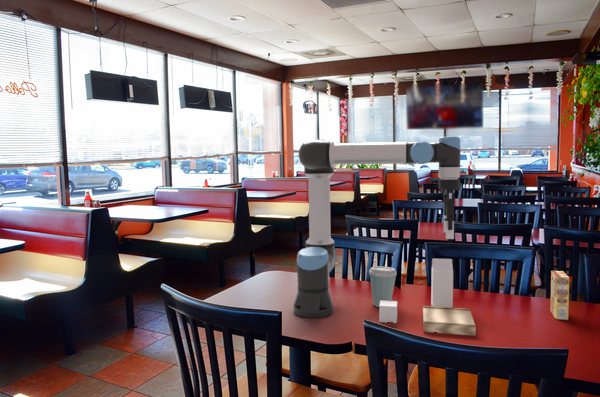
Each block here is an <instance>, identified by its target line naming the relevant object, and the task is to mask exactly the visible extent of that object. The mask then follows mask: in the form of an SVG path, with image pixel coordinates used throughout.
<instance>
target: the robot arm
mask: <svg viewBox="0 0 600 397" xmlns="http://www.w3.org/2000/svg"><path fill="white" fill-rule="evenodd" d="M298 150H299V151H298V160H299V162H300V164H301V165H302V166H303V167H304V168H303V169H304V175H305V176H306V177H307V179H308V180H307V181H308V182H307V183H308V228H309V230H308V231H309V232H308V235H309V237H308V238H307V240H305V248H301V249H300V250H298V252H297V255H296V256H297V257H296V265H297V268H296V269H297V272H296V273H297V292H296V296H295V299H294V303H293V313H294V314H295V315H297V316H298V317H302V318H308V319H310V318H311V319H312V318H313V319H317V318H318V319H319V318H324V317H328V316H330V315H332V314H333V313H334V303H333V300H332V297H331V294H330V289H329V284H330V283H329V274H330V273H331V271H332V270H333V269H334V268H335V266H336V263H337V259H338V258H337V257H338V256H337V252H336V248H335V240H334V239H333V238H332V237H331V235H332V234H331V177H332V176H333V175H334V173H335V172H334V170H335V168H334V167H335V166H336V165H338V166H339V165H394V164H395V165H401V164H402V165H403V164H405V165H406V164H407V165H408V164H410V165H412V164H413V165H414V164H415V165H426V164H428V163H429V164H430V163H431V164H432V163H434V164H436V163H437V164H438V176H437V177H438V178H439V180H438V189H439V190H440V191H441V190H443V192H444V193H442V194H443V195H442V198H443V233H445V239H446V240H454V239H455V220H456V218H455V199H456V194H455V192H454V190H456V191H457V190H460V188H461V179H459V178H460V177H461V173H462V171H463V170H462V169H461V150H462V149H461V139H460V137H459V136H451V135H450V136H440V137H439V138H438V141H437V142H428V141H424V140H423V141H422V140H421V141H420V140H419V141H408V142H407V141H395V142H356V143H355V142H350V143H349V142H347V143H346V142H345V143H335V142H334V141H333V140H324V139H319V138H313V139H311V138H310V139H307V140H306V141H304V142H303V143H302V144H301V145H300V147H299V149H298Z"/></svg>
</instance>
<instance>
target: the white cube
mask: <svg viewBox="0 0 600 397" xmlns="http://www.w3.org/2000/svg"><path fill="white" fill-rule="evenodd" d="M378 308H379V310H378V311H379V315H378V316H379V318H378V319H379V320H378V321H379V323H387V322H393V323H392V324H397V323H398V300H391V301H385V300H380V305H379V307H378Z"/></svg>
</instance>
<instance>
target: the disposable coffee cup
mask: <svg viewBox="0 0 600 397" xmlns="http://www.w3.org/2000/svg"><path fill="white" fill-rule="evenodd" d="M368 274H369V280H370V288H371V289H370V290H371V298H372V303H373V305H374V306H375V307H377V308H379V305H380V300H385V301H393V294H394V288H395V282H396V277H397V275H398V274H397V270H396V268H393V267H391V266H390V267H389V266H372V267H370V269H369V270H368Z"/></svg>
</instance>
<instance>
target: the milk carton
mask: <svg viewBox="0 0 600 397" xmlns="http://www.w3.org/2000/svg"><path fill="white" fill-rule="evenodd" d="M453 268H454V267H453V259H451V258H432V260H431V284H430V286H431V288H430V289H431V292H430V293H431V294H430V298H431V299H430V300H431V302H430V304H431V305H430V306H433V307H449V308H454V305H453V304H454V269H453Z"/></svg>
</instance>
